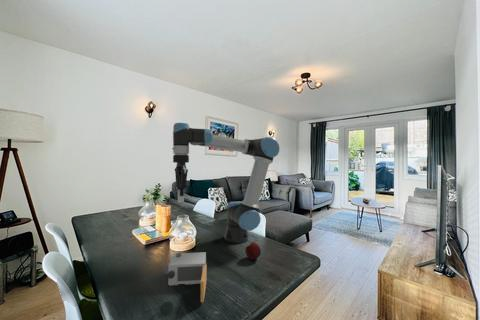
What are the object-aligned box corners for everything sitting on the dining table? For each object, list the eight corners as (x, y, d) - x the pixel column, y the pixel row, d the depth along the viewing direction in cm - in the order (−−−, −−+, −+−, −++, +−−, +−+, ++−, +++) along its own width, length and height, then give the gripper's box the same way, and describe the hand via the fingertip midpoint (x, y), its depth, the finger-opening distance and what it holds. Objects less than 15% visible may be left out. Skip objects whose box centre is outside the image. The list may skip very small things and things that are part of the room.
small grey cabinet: (205, 269, 92) (205, 250, 92) (204, 285, 81) (204, 262, 81) (173, 271, 90) (173, 251, 90) (167, 287, 79) (167, 264, 79)
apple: (252, 253, 108) (252, 238, 108) (264, 259, 102) (264, 243, 102) (242, 258, 103) (242, 242, 103) (254, 264, 97) (254, 247, 97)
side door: (203, 281, 82) (203, 263, 82) (206, 281, 82) (206, 263, 82) (200, 302, 70) (200, 281, 70) (203, 302, 70) (203, 281, 70)
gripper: (169, 154, 105) (169, 200, 105) (177, 154, 94) (177, 205, 94) (184, 154, 109) (183, 199, 109) (193, 154, 98) (193, 203, 98)
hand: (180, 202), depth 101 cm, fingers closed
